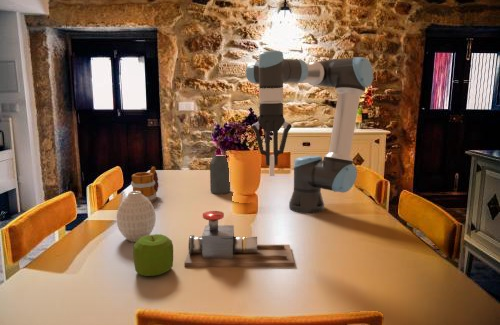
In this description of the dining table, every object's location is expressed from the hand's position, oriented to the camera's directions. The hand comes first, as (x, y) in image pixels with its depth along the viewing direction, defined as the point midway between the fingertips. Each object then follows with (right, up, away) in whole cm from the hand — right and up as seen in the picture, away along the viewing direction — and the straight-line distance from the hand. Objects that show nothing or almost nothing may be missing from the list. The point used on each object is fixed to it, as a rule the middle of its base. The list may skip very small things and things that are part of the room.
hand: (271, 174), depth 120 cm
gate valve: (-19, -24, -7) cm, 31 cm away
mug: (-56, -14, +54) cm, 79 cm away
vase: (-46, -23, +7) cm, 52 cm away
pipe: (-10, -24, -7) cm, 27 cm away
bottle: (-22, -11, +68) cm, 72 cm away
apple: (-34, -27, -16) cm, 47 cm away
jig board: (-10, -25, -7) cm, 28 cm away
